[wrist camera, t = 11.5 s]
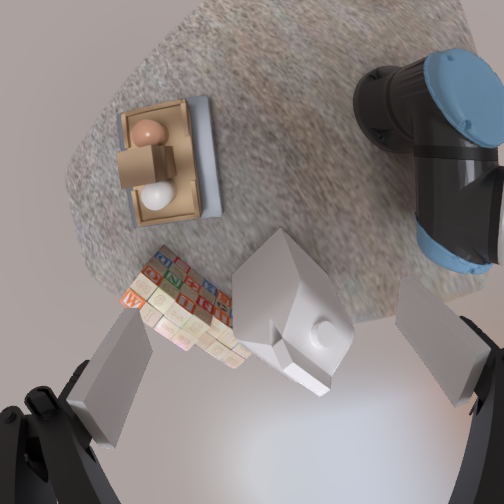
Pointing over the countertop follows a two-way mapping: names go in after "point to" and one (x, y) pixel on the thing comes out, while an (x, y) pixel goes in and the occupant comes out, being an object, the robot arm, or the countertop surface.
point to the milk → (290, 313)
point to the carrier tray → (183, 160)
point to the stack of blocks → (185, 308)
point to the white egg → (159, 194)
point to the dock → (203, 157)
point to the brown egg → (149, 133)
